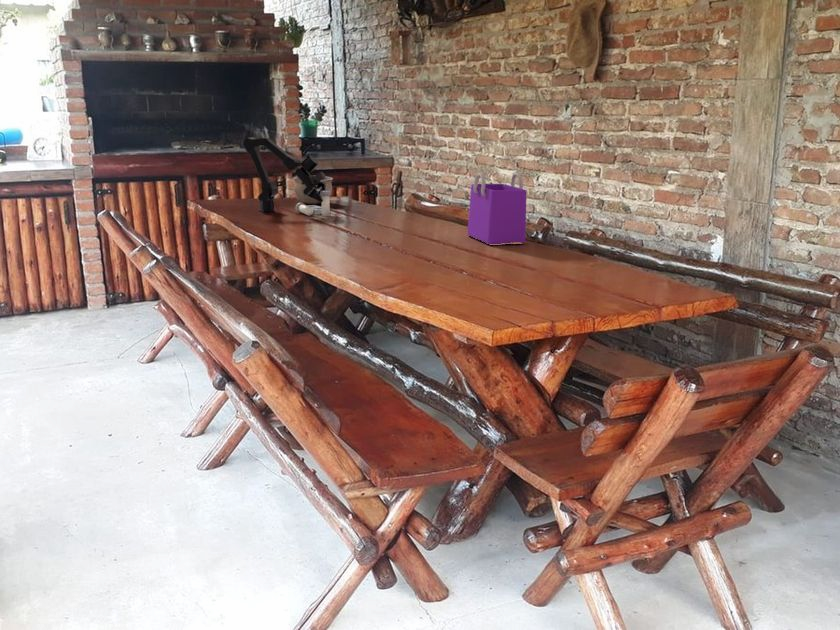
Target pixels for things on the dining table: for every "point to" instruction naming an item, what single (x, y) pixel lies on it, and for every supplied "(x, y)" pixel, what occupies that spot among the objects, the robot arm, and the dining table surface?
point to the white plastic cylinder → (304, 209)
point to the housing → (316, 209)
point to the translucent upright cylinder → (325, 202)
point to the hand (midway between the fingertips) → (325, 200)
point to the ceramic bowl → (306, 199)
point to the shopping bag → (497, 211)
